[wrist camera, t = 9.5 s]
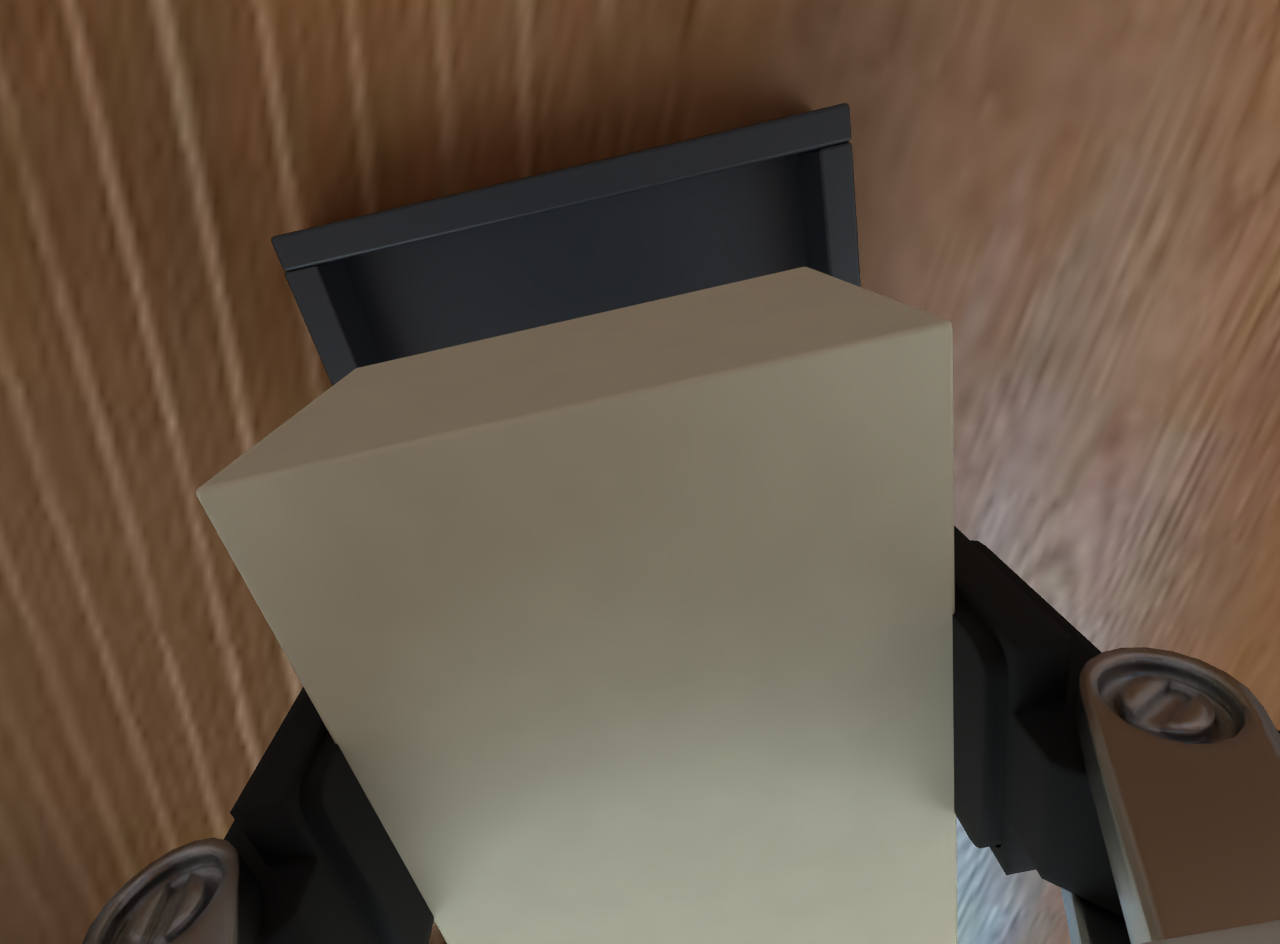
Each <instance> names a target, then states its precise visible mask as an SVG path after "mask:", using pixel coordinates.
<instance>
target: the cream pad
mask: <svg viewBox="0 0 1280 944" xmlns="http://www.w3.org/2000/svg"><path fill="white" fill-rule="evenodd" d="M196 495H197V497H198V499H199V501H200V502H201V504H202V506H203V508H204V510H205V511H206V513H207V515H208V517H209V518H210V520H211V522H212V524H213V526H214V527H215V529H216V531H217V533H218V535H219V536H220V538H221V540H222V542H223V544H224V545H225V547H226V549H227V551H228V552H229V554H230V556H231V558H232V560H233V561H234V563H235V565H236V567H237V569H238V570H239V572H240V574H241V576H242V577H243V579H244V581H245V583H246V585H247V586H248V588H249V590H250V592H251V594H252V595H253V597H254V599H255V601H256V603H257V604H258V606H259V608H260V610H261V611H262V613H263V615H264V617H265V619H266V620H267V622H268V624H269V626H270V628H271V629H272V631H273V633H274V635H275V636H276V638H277V640H278V642H279V644H280V645H281V647H282V649H283V651H284V653H285V654H286V656H287V658H288V660H289V662H290V663H291V665H292V667H293V669H294V670H295V672H296V674H297V676H298V678H299V679H300V681H301V683H302V685H303V687H304V688H305V690H306V692H307V694H308V695H309V697H310V699H311V701H312V703H313V704H314V706H315V708H316V710H317V712H318V713H319V715H320V717H321V719H322V721H323V722H324V724H325V726H326V728H327V729H328V731H329V733H330V735H331V737H332V738H333V740H334V742H335V744H338V745H339V747H340V749H341V751H342V753H343V754H344V756H345V758H346V760H347V762H348V763H349V765H350V767H351V769H352V771H353V772H354V774H355V776H356V778H357V779H358V781H359V783H360V785H361V787H362V788H363V790H364V792H365V794H366V796H367V797H368V799H369V801H370V803H371V805H372V806H373V808H374V810H375V812H376V814H377V815H378V817H379V819H380V821H381V823H382V824H383V826H384V828H385V830H386V832H387V833H388V835H389V837H390V839H391V840H392V842H393V844H394V846H395V848H396V849H397V851H398V853H399V855H400V857H401V858H402V860H403V862H404V864H405V866H406V867H407V869H408V871H409V873H410V875H411V876H412V878H413V880H414V882H415V884H416V885H417V887H418V889H419V891H420V893H421V894H422V896H423V898H424V900H425V901H426V903H427V905H428V907H429V909H430V910H431V912H432V914H433V916H434V921H435V923H436V924H437V926H438V928H439V930H440V931H441V933H442V935H443V937H444V939H445V940H446V942H447V944H957V842H956V814H955V812H954V727H953V624H952V614H954V613H955V590H954V464H953V338H952V324H951V322H950V321H949V320H946V319H943V318H941V317H938V316H936V315H933V314H930V313H928V312H925V311H922V310H920V309H917V308H914V307H912V306H909V305H906V304H904V303H901V302H898V301H896V300H893V299H890V298H888V297H885V296H883V295H880V294H877V293H875V292H872V291H869V290H867V289H864V288H861V287H859V286H856V285H853V284H851V283H848V282H845V281H843V280H840V279H837V278H835V277H832V276H830V275H827V274H824V273H822V272H819V271H816V270H814V269H811V268H808V267H800V268H796V269H791V270H787V271H783V272H778V273H774V274H769V275H765V276H761V277H756V278H752V279H747V280H743V281H739V282H734V283H730V284H725V285H721V286H717V287H712V288H708V289H703V290H699V291H694V292H690V293H686V294H681V295H677V296H672V297H668V298H664V299H659V300H655V301H650V302H646V303H642V304H637V305H633V306H628V307H624V308H620V309H615V310H611V311H606V312H602V313H598V314H593V315H589V316H584V317H580V318H576V319H571V320H567V321H562V322H558V323H554V324H549V325H545V326H540V327H536V328H531V329H527V330H523V331H518V332H514V333H509V334H505V335H501V336H496V337H492V338H487V339H483V340H479V341H474V342H470V343H465V344H461V345H457V346H452V347H448V348H443V349H439V350H435V351H430V352H426V353H421V354H417V355H413V356H408V357H404V358H399V359H395V360H391V361H386V362H382V363H377V364H373V365H369V366H364V367H360V368H356V369H354V370H353V371H352V372H351V373H349V374H348V375H347V376H345V377H344V378H343V379H341V380H340V381H339V382H337V383H336V384H335V385H333V386H332V387H331V388H329V389H328V390H327V391H325V392H324V393H323V394H322V395H320V396H319V397H318V398H316V399H315V400H314V401H312V402H311V403H310V404H308V405H307V406H306V407H304V408H303V409H302V410H300V411H299V412H298V413H296V414H295V415H294V416H293V417H291V418H290V419H289V420H287V421H286V422H285V423H283V424H282V425H281V426H279V427H278V428H277V429H275V430H274V431H273V432H271V433H270V434H269V435H267V436H266V437H265V438H264V439H262V440H261V441H260V442H258V443H257V444H256V445H254V446H253V447H252V448H250V449H249V450H248V451H246V452H245V453H244V454H242V455H241V456H240V457H238V458H237V459H236V460H235V461H233V462H232V463H231V464H229V465H228V466H227V467H225V468H224V469H223V470H221V471H220V472H219V473H217V474H216V475H215V476H213V477H212V478H211V479H209V480H208V481H207V482H206V483H204V484H203V485H202V486H200V487H199V488H198V489H197V490H196Z"/></svg>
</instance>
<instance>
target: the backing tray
mask: <svg viewBox="0 0 1280 944" xmlns="http://www.w3.org/2000/svg"><path fill="white" fill-rule="evenodd" d="M850 140H851V125H850V109H849V105H848V104H847V103H843V104H839V105H835V106H831V107H826V108H822V109H818V110H813V111H809V112H805V113H800V114H796V115H792V116H788V117H783V118H779V119H775V120H770V121H766V122H762V123H758V124H753V125H749V126H745V127H740V128H736V129H732V130H728V131H723V132H719V133H715V134H710V135H706V136H702V137H698V138H693V139H689V140H685V141H680V142H676V143H672V144H668V145H663V146H659V147H655V148H650V149H646V150H642V151H638V152H633V153H629V154H625V155H620V156H616V157H612V158H608V159H603V160H599V161H595V162H590V163H586V164H582V165H578V166H573V167H569V168H565V169H560V170H556V171H552V172H548V173H543V174H539V175H535V176H530V177H526V178H522V179H518V180H513V181H509V182H505V183H500V184H496V185H492V186H487V187H483V188H479V189H475V190H470V191H466V192H462V193H457V194H453V195H449V196H445V197H440V198H436V199H432V200H427V201H423V202H419V203H415V204H410V205H406V206H402V207H397V208H393V209H389V210H385V211H380V212H376V213H372V214H367V215H363V216H359V217H355V218H350V219H346V220H342V221H337V222H333V223H329V224H325V225H320V226H316V227H312V228H307V229H303V230H299V231H295V232H290V233H286V234H282V235H277V236H274V237H272V238H271V242H272V244H273V246H274V249H275V251H276V253H277V256H278V258H279V260H280V263H281V265H282V267H283V269H284V270H285V271H288V272H286V273H285V276H286V279H287V281H288V283H289V286H290V288H291V290H292V293H293V295H294V297H295V300H296V302H297V304H298V307H299V309H300V311H301V314H302V316H303V318H304V321H305V323H306V325H307V328H308V330H309V332H310V335H311V337H312V339H313V341H314V344H315V346H316V348H317V351H318V353H319V355H320V358H321V360H322V362H323V365H324V367H325V369H326V372H327V374H328V376H329V379H330V381H331V383H332V386H333V385H335V384H336V383H337V382H339V381H340V380H341V379H343V378H344V377H345V376H347V375H348V374H349V373H351V372H352V371H353V370H354V369H356V368H360V367H364V366H369V365H373V364H377V363H382V362H386V361H391V360H395V359H399V358H404V357H408V356H413V355H417V354H421V353H426V352H430V351H435V350H439V349H443V348H448V347H452V346H457V345H461V344H465V343H470V342H474V341H479V340H483V339H487V338H492V337H496V336H501V335H505V334H509V333H514V332H518V331H523V330H527V329H531V328H536V327H540V326H545V325H549V324H554V323H558V322H562V321H567V320H571V319H576V318H580V317H584V316H589V315H593V314H598V313H602V312H606V311H611V310H615V309H620V308H624V307H628V306H633V305H637V304H642V303H646V302H650V301H655V300H659V299H664V298H668V297H672V296H677V295H681V294H686V293H690V292H694V291H699V290H703V289H708V288H712V287H717V286H721V285H725V284H730V283H734V282H739V281H743V280H747V279H752V278H756V277H761V276H765V275H769V274H774V273H778V272H783V271H787V270H791V269H796V268H800V267H808V268H811V269H814V270H816V271H819V272H822V273H824V274H827V275H830V276H832V277H835V278H837V279H840V280H843V281H845V282H848V283H851V284H853V285H856V286H859V287H861V284H860V268H859V252H858V236H857V220H856V204H855V188H854V172H853V157H852V145H851V143H850V142H848V141H850Z"/></svg>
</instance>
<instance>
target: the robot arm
mask: <svg viewBox="0 0 1280 944" xmlns="http://www.w3.org/2000/svg"><path fill="white" fill-rule="evenodd" d="M954 590H955V613H954V614H952V624H953V727H954V812H955V814H956V816H957V817H958V819H959V821H960V823H961V824H962V826H963V828H964V830H965V831H966V833H967V835H968V836H969V838H970V840H971V841H972V843H973V844H974V845H975V846H976V847H978V848H984V847H990V848H991V850H992V852H993V853H994V855H995V857H996V858H997V860H998V862H999V863H1000V865H1001V867H1002V868H1003V870H1004V872H1005V874H1006V875H1010V874H1015V873H1020V872H1025V871H1030V870H1035V869H1036V870H1037V872H1038V873H1039V875H1040V876H1041V878H1042V879H1044V880H1047V881H1049V882H1051V883H1053V884H1055V885H1057V886H1059V887H1061V890H1062V896H1063V901H1064V906H1065V912H1066V917H1067V922H1068V927H1069V933H1070V938H1071V943H1072V944H1280V731H1278V730H1277V729H1276V727H1275V726H1274V724H1273V722H1272V721H1271V719H1270V717H1269V715H1268V714H1267V712H1266V710H1265V709H1264V707H1263V706H1262V704H1261V703H1260V702H1259V701H1258V700H1257V698H1256V697H1255V696H1254V695H1253V694H1252V692H1251V691H1250V690H1249V689H1248V688H1247V687H1245V686H1244V685H1243V684H1241V683H1240V682H1239V681H1237V680H1236V679H1234V678H1233V677H1232V676H1230V675H1229V674H1228V673H1226V672H1224V671H1222V670H1220V669H1218V668H1216V667H1214V666H1212V665H1210V664H1208V663H1205V662H1203V661H1201V660H1199V659H1195V658H1192V657H1189V656H1186V655H1182V654H1179V653H1176V652H1173V651H1166V650H1159V649H1153V648H1146V647H1142V648H1119V649H1115V650H1111V651H1107V652H1101V651H1099V650H1098V649H1097V648H1096V647H1095V646H1094V645H1093V644H1092V643H1091V642H1090V641H1089V640H1087V639H1086V638H1085V637H1084V636H1083V635H1082V634H1081V633H1080V632H1079V631H1078V630H1077V629H1075V628H1074V627H1073V626H1072V625H1071V624H1070V623H1069V622H1068V621H1067V620H1066V619H1065V618H1064V617H1062V616H1061V615H1060V614H1059V613H1058V612H1057V611H1056V610H1055V609H1054V608H1053V607H1052V606H1050V605H1049V604H1048V603H1047V602H1046V601H1045V600H1044V599H1043V598H1042V597H1041V596H1040V595H1039V594H1037V593H1036V592H1035V591H1034V590H1033V589H1032V588H1031V587H1030V586H1029V585H1028V584H1027V583H1025V582H1024V581H1023V580H1022V579H1021V578H1020V577H1019V576H1018V575H1017V574H1016V573H1015V572H1014V571H1012V570H1011V569H1010V568H1009V567H1008V566H1007V565H1006V564H1005V563H1004V562H1003V561H1002V560H1000V559H999V558H998V557H997V556H996V555H995V554H994V553H993V552H992V551H991V550H990V549H988V548H987V547H986V546H985V545H983V544H982V543H980V542H979V541H973V540H971V541H970V540H969V539H968V538H967V537H966V536H965V535H964V534H963V533H961V532H960V531H959V530H958V529H957V528H956V527H955V526H954ZM230 813H231V815H232V816H233V817H234V819H235V821H234V822H233V824H232V826H231V828H230V829H229V831H228V833H227V835H226V836H225V838H224V840H222V839H217V838H209V839H203V840H197V841H193V842H191V843H188V844H186V845H183V846H181V847H178V848H176V849H174V850H172V851H170V852H168V853H167V854H165V855H163V856H162V857H160V858H159V859H157V860H155V861H154V862H152V863H150V864H149V865H148V866H146V867H145V868H144V869H143V870H141V871H140V872H139V873H138V874H136V875H135V876H134V877H133V878H132V879H130V880H129V881H128V882H127V883H126V884H125V885H124V886H123V887H122V888H121V889H120V890H119V891H118V892H117V893H116V894H115V895H114V896H113V897H112V898H111V899H110V900H109V901H108V902H107V903H106V905H105V906H104V908H103V909H102V910H101V912H100V913H99V915H98V916H97V917H96V919H95V920H94V922H93V923H92V924H91V926H90V928H89V930H88V932H87V934H86V936H85V939H84V941H83V943H82V944H428V943H429V939H430V934H431V930H432V925H433V920H434V916H433V914H432V912H431V910H430V909H429V907H428V905H427V903H426V901H425V900H424V898H423V896H422V894H421V893H420V891H419V889H418V887H417V885H416V884H415V882H414V880H413V878H412V876H411V875H410V873H409V871H408V869H407V867H406V866H405V864H404V862H403V860H402V858H401V857H400V855H399V853H398V851H397V849H396V848H395V846H394V844H393V842H392V840H391V839H390V837H389V835H388V833H387V832H386V830H385V828H384V826H383V824H382V823H381V821H380V819H379V817H378V815H377V814H376V812H375V810H374V808H373V806H372V805H371V803H370V801H369V799H368V797H367V796H366V794H365V792H364V790H363V788H362V787H361V785H360V783H359V781H358V779H357V778H356V776H355V774H354V772H353V771H352V769H351V767H350V765H349V763H348V762H347V760H346V758H345V756H344V754H343V753H342V751H341V749H340V747H339V745H338V744H335V742H334V740H333V738H332V737H331V735H330V733H329V731H328V729H327V728H326V726H325V724H324V722H323V721H322V719H321V717H320V715H319V713H318V712H317V710H316V708H315V706H314V704H313V703H312V701H311V699H310V697H309V695H308V694H307V692H306V690H305V688H304V687H303V688H302V690H301V692H300V693H299V695H298V697H297V699H296V700H295V702H294V704H293V705H292V707H291V709H290V711H289V712H288V714H287V716H286V717H285V719H284V721H283V723H282V724H281V726H280V728H279V729H278V731H277V733H276V735H275V736H274V738H273V740H272V741H271V743H270V745H269V747H268V748H267V750H266V752H265V754H264V755H263V757H262V759H261V760H260V762H259V764H258V766H257V767H256V769H255V771H254V772H253V774H252V776H251V778H250V779H249V781H248V783H247V784H246V786H245V788H244V790H243V791H242V793H241V795H240V796H239V798H238V800H237V802H236V803H235V805H234V807H233V808H232V810H231V812H230Z"/></svg>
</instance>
